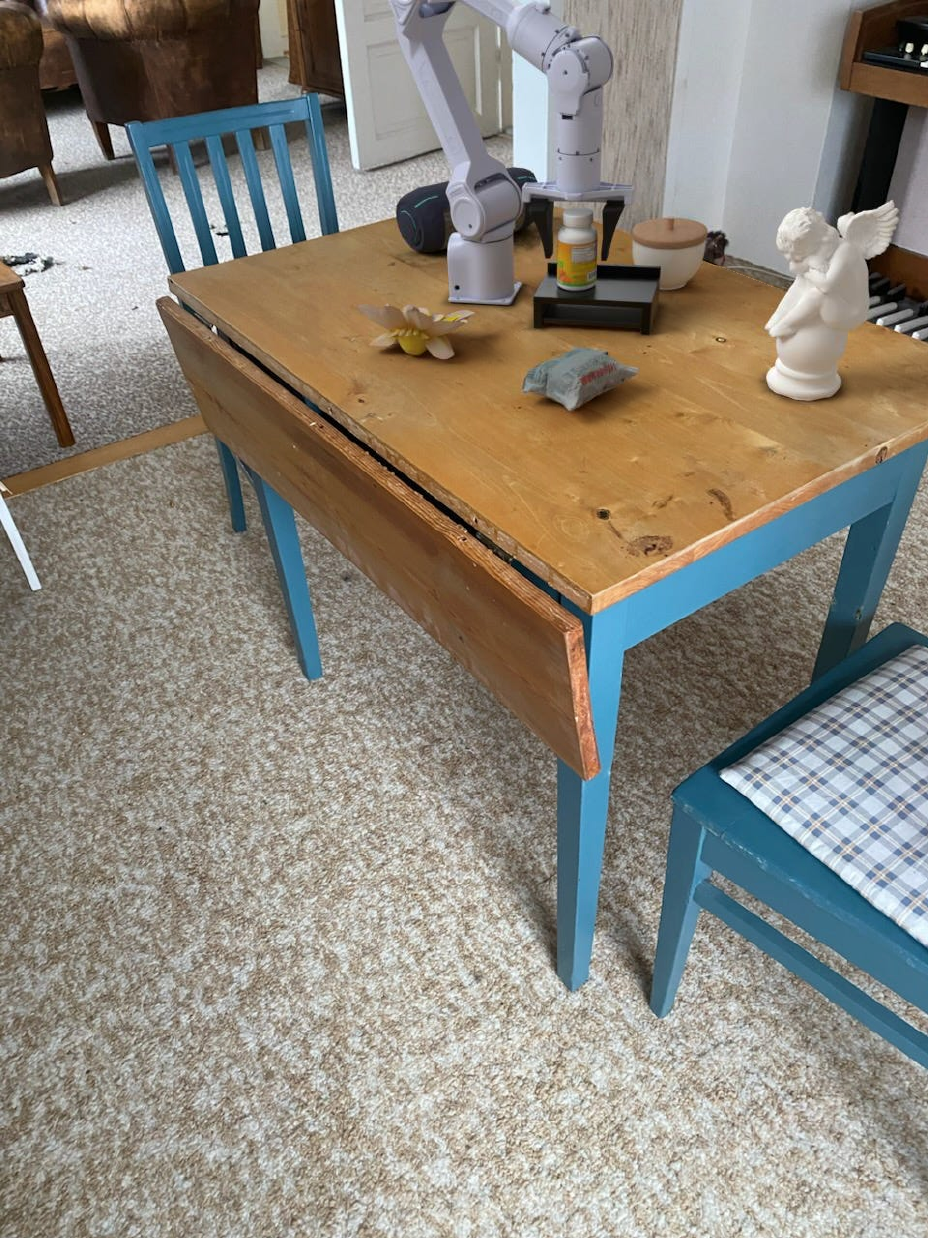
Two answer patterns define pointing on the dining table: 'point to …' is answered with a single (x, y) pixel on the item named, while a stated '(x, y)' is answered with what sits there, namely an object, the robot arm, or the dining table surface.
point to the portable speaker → (444, 213)
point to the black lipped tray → (601, 298)
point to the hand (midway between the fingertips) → (576, 257)
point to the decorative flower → (415, 328)
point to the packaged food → (577, 376)
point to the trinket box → (670, 248)
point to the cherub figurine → (823, 295)
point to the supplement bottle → (577, 250)
